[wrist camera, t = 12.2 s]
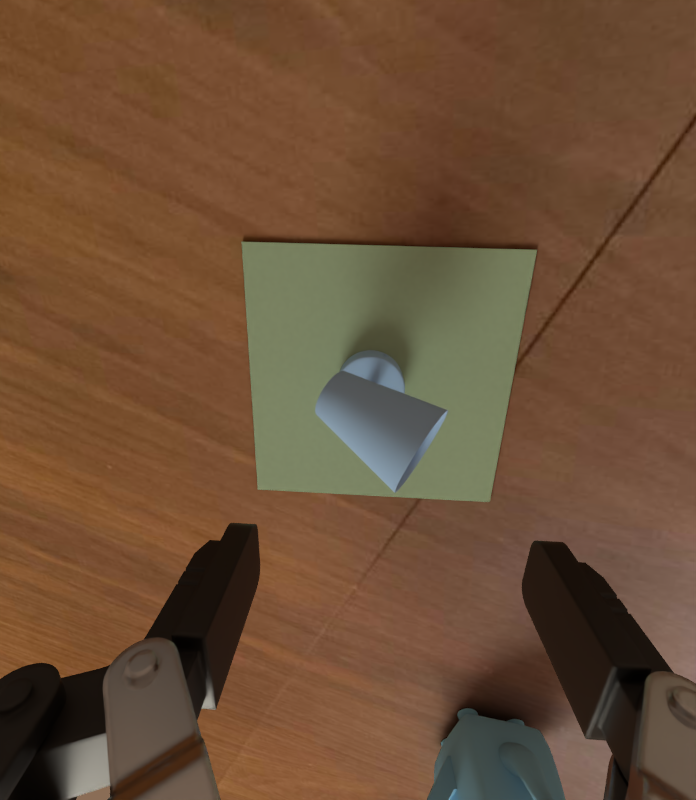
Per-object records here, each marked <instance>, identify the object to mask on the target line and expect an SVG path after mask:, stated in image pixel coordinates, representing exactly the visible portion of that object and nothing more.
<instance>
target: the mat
mask: <svg viewBox="0 0 696 800" xmlns="http://www.w3.org/2000/svg"><path fill="white" fill-rule="evenodd" d="M536 253H537V250H527V249H492V248H456V247H420V246H384V245H348V244H312V243H276V242H242V254H243V270H244V285H245V300H246V315H247V331H248V346H249V361H250V376H251V392H252V407H253V422H254V438H255V453H256V468H257V483H258V489H259V490H278V491H296V492H315V493H333V494H352V495H370V496H389V497H407V498H426V499H444V500H463V501H481V502H490V498H491V493H492V487H493V482H494V477H495V471H496V466H497V461H498V455H499V450H500V445H501V439H502V434H503V429H504V423H505V418H506V413H507V408H508V402H509V397H510V392H511V386H512V381H513V376H514V370H515V365H516V360H517V354H518V349H519V344H520V338H521V333H522V328H523V323H524V317H525V312H526V307H527V301H528V296H529V291H530V285H531V280H532V275H533V269H534V264H535V259H536ZM366 350H375V351H380V352H383V353H385V354H387V355H389V356H390V357H392V358H393V359H394V360H395V361H396V362H397V364H398V365H399V367H400V369H401V372H402V375H403V379H404V383H405V394H407V395H409V396H412V397H414V398H417V399H420V400H422V401H425V402H428V403H430V404H433V405H436V406H438V407H441V408H443V409H446V410H448V413H447V415H446V418H445V420H444V422H443V423H442V425H441V427H440V429H439V431H438V432H437V434H436V436H435V438H434V439H433V441H432V442H431V444H430V446H429V447H428V449H427V451H426V452H425V454H424V455H423V457H422V458H421V460H420V461H419V463H418V464H417V466H416V467H415V469H414V470H413V472H412V473H411V474H410V476H409V477H408V479H407V480H406V481H405V483H404V484H403V485H402V486H401V488H400V489H399V490H398V491H397V492H396V493H394V492H393V491H392V490H391V489H390V488H389V487H388V486H387V485H386V484H385V483H384V482H383V481H382V480H381V479H380V478H379V477H378V476H377V475H376V474H375V473H374V472H373V471H372V470H371V469H370V468H369V467H368V466H367V465H366V464H365V463H364V462H363V461H362V460H361V459H360V458H359V457H358V456H357V455H356V454H355V453H354V452H353V451H352V450H351V449H350V448H349V447H348V446H347V445H346V444H345V443H344V442H343V441H342V440H341V439H340V438H339V437H338V436H337V435H336V434H335V433H334V432H333V431H332V430H331V429H330V428H329V427H328V426H327V425H326V424H325V423H324V422H323V421H322V420H321V419H320V418H319V417H318V416H317V415H316V413H315V407H316V403H317V400H318V398H319V396H320V394H321V392H322V390H323V388H324V387H325V386H326V384H327V383H328V382H329V380H330V379H331V378H332V377H333V376H334V375H336V374H337V373H339V372H340V369H341V367H342V366H343V364H344V363H345V361H346V360H347V359H348V358H350V357H351V356H352V355H354V354H356V353H358V352H361V351H366Z"/></svg>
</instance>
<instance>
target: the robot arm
mask: <svg viewBox="0 0 696 800" xmlns="http://www.w3.org/2000/svg"><path fill="white" fill-rule="evenodd" d="M259 575H260V556H259V541H258V529H257V525H256V524H242V523H230V524H229V525H228V527H227V529H226V531H225V533H224V535H223V537H222V539H221V540H220V541H214V540H209V541H208V542H207V543H206V544H205V545H204V546H202V547H201V548H200V549H199V550H198V551H197V552H195V554H194V555H193V557H192V559H191V561H190V562H189V564H188V566H187V567H186V571H184V572H183V574H182V576H181V578H180V579H179V581H178V585H177V584H176V586H175V588H174V590H173V591H172V593H171V595H170V596H169V598H168V600H167V601H166V603H165V605H164V607H163V608H162V610H161V612H160V613H159V615H158V617H157V619H156V620H155V622H154V624H153V625H152V627H151V629H150V630H149V632H148V634H147V635H146V637H145V638H144V640H142V641H139V642H137V643H135V644H133V645H131V646H130V647H128V648H127V649H125V650H124V651H123V652H122V653H121V654H119V656H118V657H117V658H116V659H115V660H114V661H113V662H112V664H111V665H109V666H107V667H103V668H100V669H96V670H92V671H88V672H84V673H80V674H76V675H72V676H68V677H64V678H61V677H60V675H59V672H58V670H57V669H56V668H55V667H54V666H53V665H50V664H47V663H36V664H31V665H27V666H24V667H21V668H19V669H17V670H15V671H13V672H11V673H9V674H7V675H6V676H4V677H3V678H1V679H0V800H76V798H77V796H80V795H83V794H86V793H89V792H92V791H95V790H98V789H101V788H104V787H107V786H110V798H108V800H221V799H220V796H219V792H218V789H217V785H216V781H215V778H214V774H213V770H212V767H211V763H210V759H209V756H208V752H207V749H206V746H205V742H204V740H203V738H202V737H201V734H200V730H199V727H198V723H197V719H198V716H199V714H200V711H201V709H215V710H216V708H217V705H218V702H219V699H220V696H221V693H222V690H223V687H224V684H225V681H226V678H227V675H228V672H229V669H230V666H231V663H232V660H233V657H234V654H235V651H236V648H237V645H238V642H239V639H240V636H241V633H242V630H243V627H244V624H245V621H246V619H247V616H248V613H249V610H250V607H251V604H252V601H253V598H254V595H255V592H256V589H257V585H258V581H259ZM522 594H523V599H524V603H525V605H526V608H527V610H528V612H529V614H530V617H531V619H532V621H533V623H534V626H535V628H536V630H537V632H538V634H539V637H540V639H541V641H542V643H543V645H544V648H545V650H546V652H547V654H548V656H549V659H550V661H551V663H552V665H553V667H554V670H555V672H556V674H557V676H558V679H559V681H560V683H561V685H562V687H563V690H564V692H565V694H566V696H567V698H568V701H569V703H570V705H571V707H572V709H573V712H574V714H575V716H576V718H577V721H578V723H579V725H580V727H581V729H582V732H583V734H584V736H585V738H586V739H594V740H606V741H607V743H608V745H609V747H610V749H611V751H612V756H611V758H610V761H609V766H608V773H607V779H606V786H605V792H604V799H603V800H696V683H694V682H692V681H690V680H689V679H687V678H684V677H682V676H680V675H677V674H674V672H673V671H672V670H671V669H670V667H669V666H668V664H667V663H666V662H665V660H664V659H663V658H662V656H661V655H660V654H659V652H658V651H657V650H656V648H655V647H654V645H653V644H652V643H651V641H650V640H649V639H648V637H647V636H646V635H645V633H644V632H643V630H642V629H641V628H640V626H639V625H638V624H637V622H636V621H635V620H634V618H633V617H632V616H631V614H628V612H627V609H626V607H625V606H624V605H623V603H622V602H621V601H620V599H617V595H616V594H615V592H614V591H613V590H612V588H611V587H610V586H609V584H608V583H607V582H606V580H605V579H604V578H603V577H602V576H601V575H600V574H598V573H597V572H596V571H595V570H594V569H592V568H591V567H590V566H589V565H587V564H586V563H581V562H578V561H577V560H576V558H575V557H574V555H573V554H572V552H571V551H570V549H569V548H568V547H567V545H566V544H565V543H563V542H550V541H534V542H533V543H532V545H531V548H530V552H529V556H528V560H527V564H526V568H525V572H524V576H523V580H522Z"/></svg>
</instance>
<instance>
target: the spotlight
mask: <svg viewBox="0 0 696 800" xmlns="http://www.w3.org/2000/svg"><path fill="white" fill-rule="evenodd" d="M315 413H316V415H317V416H318V417H319V418H320V419H321V420H322V421H323V422H324V423H325V424H326V425H327V426H328V427H329V428H330V429H331V430H332V431H333V432H334V433H335V434H336V435H337V436H338V437H339V438H340V439H341V440H342V441H343V442H344V443H345V444H346V445H347V446H348V447H349V448H350V449H351V450H352V451H353V452H354V453H355V454H356V455H357V456H358V457H359V458H360V459H361V460H362V461H363V462H364V463H365V464H366V465H367V466H368V467H369V468H370V469H371V470H372V471H373V472H374V473H375V474H376V475H377V476H378V477H379V478H380V479H381V480H382V481H383V482H384V483H385V484H386V485H387V486H388V487H389V488H390V489H391V490H392V491H393V492H394V493H396V492H397V491H398V490H399V489H400V488H401V486H402V485H403V484H404V483H405V481H406V480H407V479H408V477H409V476H410V474H411V473H412V472H413V470H414V469H415V467H416V466H417V464H418V463H419V461H420V460H421V458H422V457H423V455H424V454H425V452H426V451H427V449H428V447H429V446H430V444H431V442H432V441H433V439H434V438H435V436H436V434H437V432H438V431H439V429H440V427H441V425H442V423H443V422H444V420H445V418H446V415H447V413H448V410H446V409H443V408H441V407H438V406H436V405H433V404H430V403H428V402H425V401H422V400H420V399H417V398H414V397H412V396H409V395H407V394H405V383H404V379H403V375H402V372H401V369H400V367H399V365H398V364H397V362H396V361H395V360H394V359H393V358H392V357H390V356H389V355H387V354H385V353H383V352H380V351H375V350H366V351H361V352H358V353H356V354H354V355H352V356H351V357H350V358H348V359H347V360H346V361H345V363H344V364H343V366H342V367H341V369H340V372H339V373H337V374H336V375H334V376H333V377H332V378H331V379H330V380H329V382H328V383H327V384H326V386H325V387H324V388H323V390H322V392H321V394H320V396H319V398H318V400H317V403H316V407H315Z"/></svg>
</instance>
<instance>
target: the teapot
mask: <svg viewBox="0 0 696 800" xmlns="http://www.w3.org/2000/svg"><path fill="white" fill-rule="evenodd" d="M457 716H458V719H459V721H458V723H457V724H456V725H455V727H454V728H453V730H452V731H451V732H450V734H449V735H448V737H447V738H446V739H444V740H442V742H441V745H442V748H441V750H440V752H439V755H438V757H437V760H436V762H435V769H434V784H433V786H432V789H431V791H430V793H429V796H428V798H427V800H565V796H564V792H563V788H562V785H561V781H560V778H559V775H558V772H557V768H556V765H555V762H554V759H553V756H552V754H551V751H550V748H549V746H548V744H547V742H546V741H545V739H544V737H543V735H542V734H541V732H540V731H539V730H537V729H535V728H531V727H527V726H525V724H524V722H523V721H522V720H519V719H511V720H508V721H502V720H497V719H493V718H488V717H483V716H478V713H477V712H476V711H475V710H474V709H470V708H465V709H462V710H460V711H459V712H458V714H457Z"/></svg>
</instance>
